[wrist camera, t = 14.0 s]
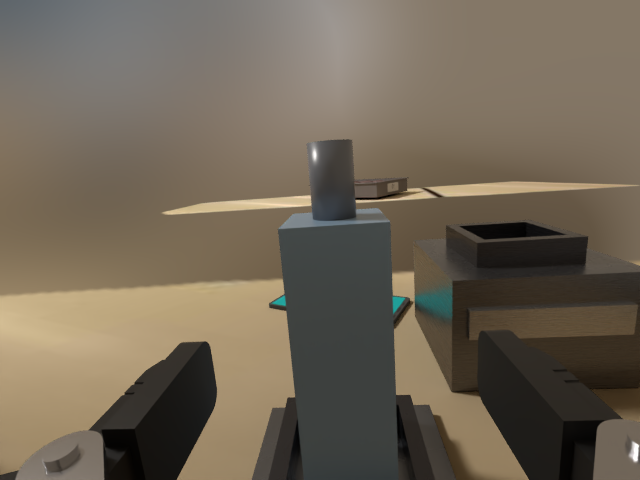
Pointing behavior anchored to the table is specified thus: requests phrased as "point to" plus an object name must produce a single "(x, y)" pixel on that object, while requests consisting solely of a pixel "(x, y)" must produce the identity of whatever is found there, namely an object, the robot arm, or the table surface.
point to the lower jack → (412, 439)
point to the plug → (341, 325)
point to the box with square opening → (528, 300)
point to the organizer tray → (379, 187)
